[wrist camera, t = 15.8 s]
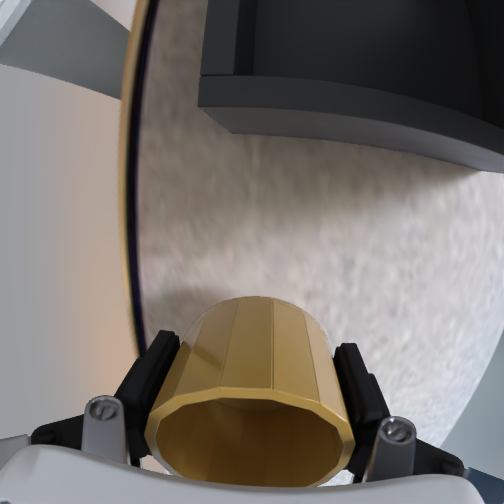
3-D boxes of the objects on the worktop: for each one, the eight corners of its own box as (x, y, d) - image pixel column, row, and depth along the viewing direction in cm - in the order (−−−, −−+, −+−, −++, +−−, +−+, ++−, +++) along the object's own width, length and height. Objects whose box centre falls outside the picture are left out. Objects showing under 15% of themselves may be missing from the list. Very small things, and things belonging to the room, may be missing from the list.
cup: (170, 383, 13) (135, 466, 8) (210, 271, 11) (167, 351, 6) (290, 422, 13) (293, 507, 8) (356, 327, 11) (396, 417, 6)
